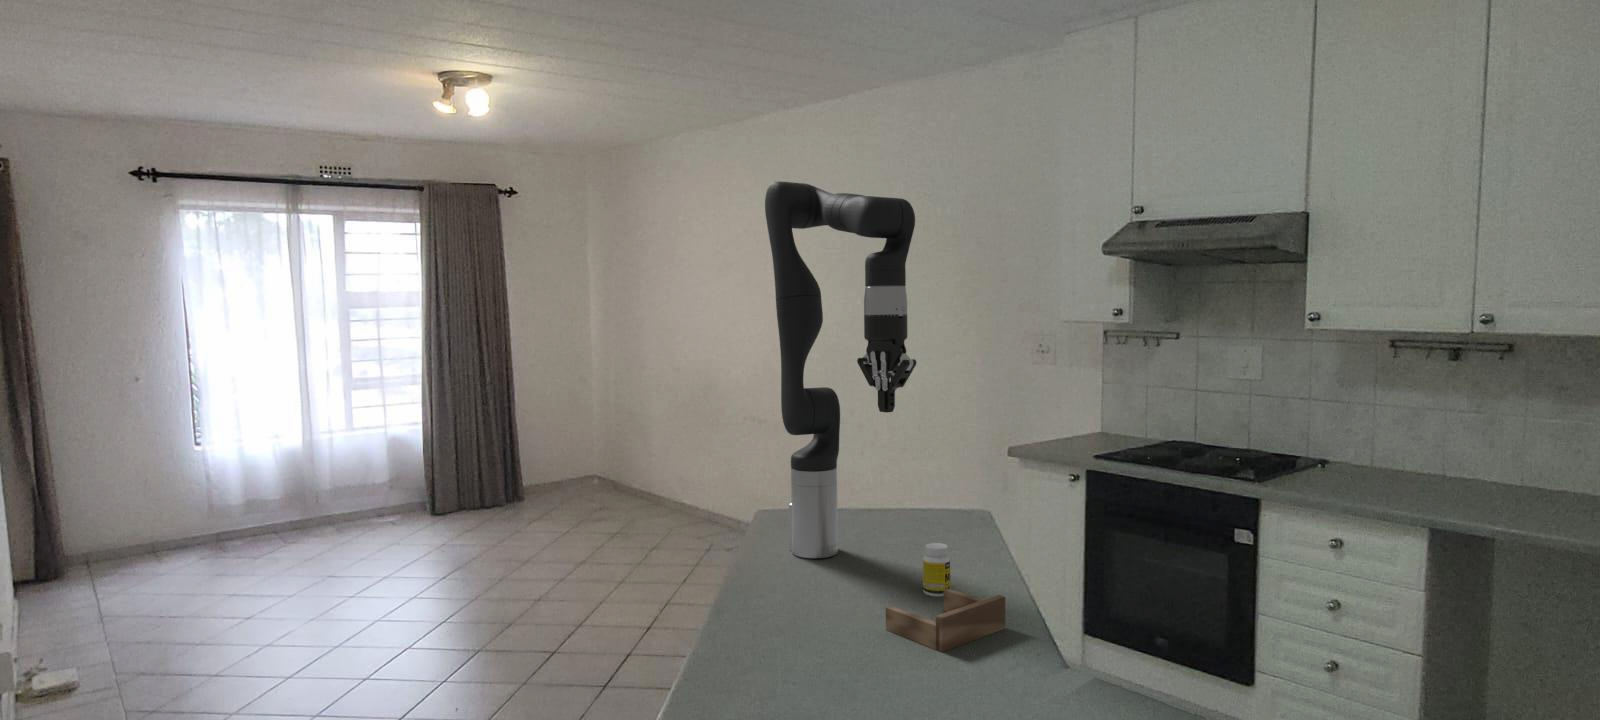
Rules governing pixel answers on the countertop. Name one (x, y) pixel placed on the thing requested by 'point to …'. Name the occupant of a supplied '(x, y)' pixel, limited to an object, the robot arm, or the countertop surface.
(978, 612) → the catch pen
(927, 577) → the supplement bottle
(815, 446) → the robot arm
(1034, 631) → the countertop surface
